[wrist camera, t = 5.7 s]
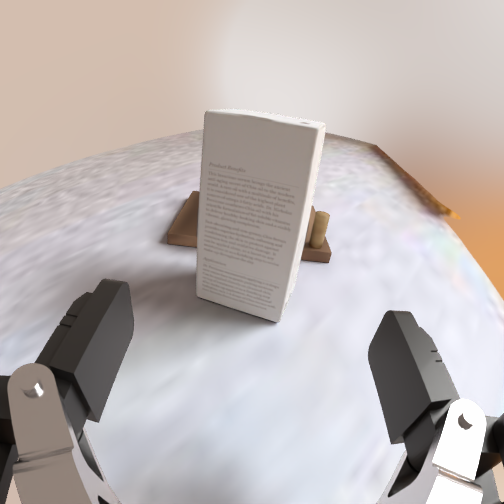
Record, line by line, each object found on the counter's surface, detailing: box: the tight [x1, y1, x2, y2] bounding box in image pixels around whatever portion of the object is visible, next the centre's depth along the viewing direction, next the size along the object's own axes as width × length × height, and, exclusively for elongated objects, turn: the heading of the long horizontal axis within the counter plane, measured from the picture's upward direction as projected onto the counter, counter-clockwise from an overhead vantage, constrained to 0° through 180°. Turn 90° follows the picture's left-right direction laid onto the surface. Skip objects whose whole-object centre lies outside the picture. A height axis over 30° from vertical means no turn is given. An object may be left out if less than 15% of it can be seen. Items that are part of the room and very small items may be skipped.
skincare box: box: [196, 109, 326, 322], centre depth 19 cm, size 6×4×12 cm
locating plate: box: [168, 191, 331, 263], centre depth 30 cm, size 14×11×4 cm
